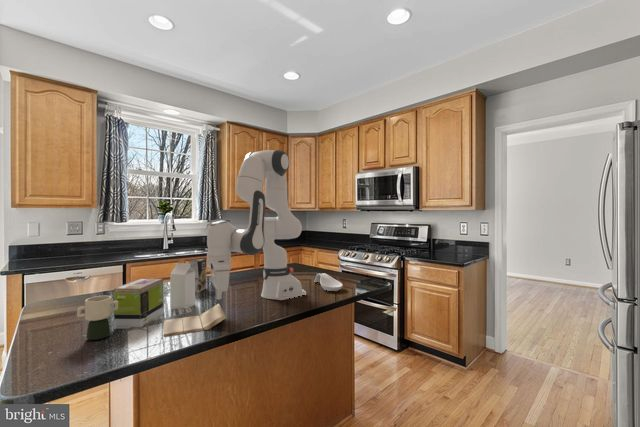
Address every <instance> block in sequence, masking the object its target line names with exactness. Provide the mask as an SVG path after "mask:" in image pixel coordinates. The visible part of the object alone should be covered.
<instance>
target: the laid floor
mask: <svg viewBox="0 0 640 427" xmlns="http://www.w3.org/2000/svg"><path fill="white" fill-rule="evenodd" d="M163 323H164V324H163V337H169V336H175V335H182V334H188V333H194V332H200V331H203V326H202V322H201V319H200V314H199V315H194V316H193V315H192V316H185V317H178V318H170V319H164V321H163Z"/></svg>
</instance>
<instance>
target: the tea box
mask: <svg viewBox="0 0 640 427" xmlns="http://www.w3.org/2000/svg"><path fill="white" fill-rule="evenodd" d="M164 297H165V296H164V279H163V278H138V279H136V280H132V281H131V282H128V283H125V284H122V285H120V286H117V287H114V288H113V301H118V310H115V311H113V315H114V318H113V320H114V323H113V324H114V329H117V330H118V329H119V330H130V329H131V328H142V327H143V326H144V327H145V325H147V324H149V323H150V322H153V321H154V320H155V319H157V318H159V317H160V316H162V315H164V313H165V306H164V300H165V299H164ZM113 308H115V304H113Z"/></svg>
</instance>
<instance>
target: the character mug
mask: <svg viewBox="0 0 640 427" xmlns="http://www.w3.org/2000/svg"><path fill="white" fill-rule="evenodd" d="M114 304H115V308H114V307H112V305H114ZM82 310H84V313H82ZM115 310H118V301H114V300H113V301H112V295H97V296H95V295H94V296H92V297H89V298H86V299H85V300H84V305H83V306H82V305H81V306H79V307H77V310H76V317H77V318H85V320H86V321H89V322H88V325H87V329H86V330H87V331H86V339H88V340H92V341H93V340H95V341H96V340H101V339H105V338H107V337H108V336H109V335H111V328H110V323H109V319H108V318H110V317H111V316H112V312H114V311H115Z"/></svg>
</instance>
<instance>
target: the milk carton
mask: <svg viewBox="0 0 640 427" xmlns="http://www.w3.org/2000/svg"><path fill="white" fill-rule="evenodd" d="M169 278H170V279H169V281H170V283H169V284H170V289H169V292H170V294H169V296H170V297H169V298H170V300H169V301H170V302H169V307H170V308H169V309H171V310H179V309H187V308H191V307H193V306H195V305H196V293H195V271H194V270H193V269H192V267H191V266H190V264H188V263H182V262H181V263H180V262H176V263H175V266H174V268H173V269H172V271H171V272H170V276H169Z"/></svg>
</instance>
